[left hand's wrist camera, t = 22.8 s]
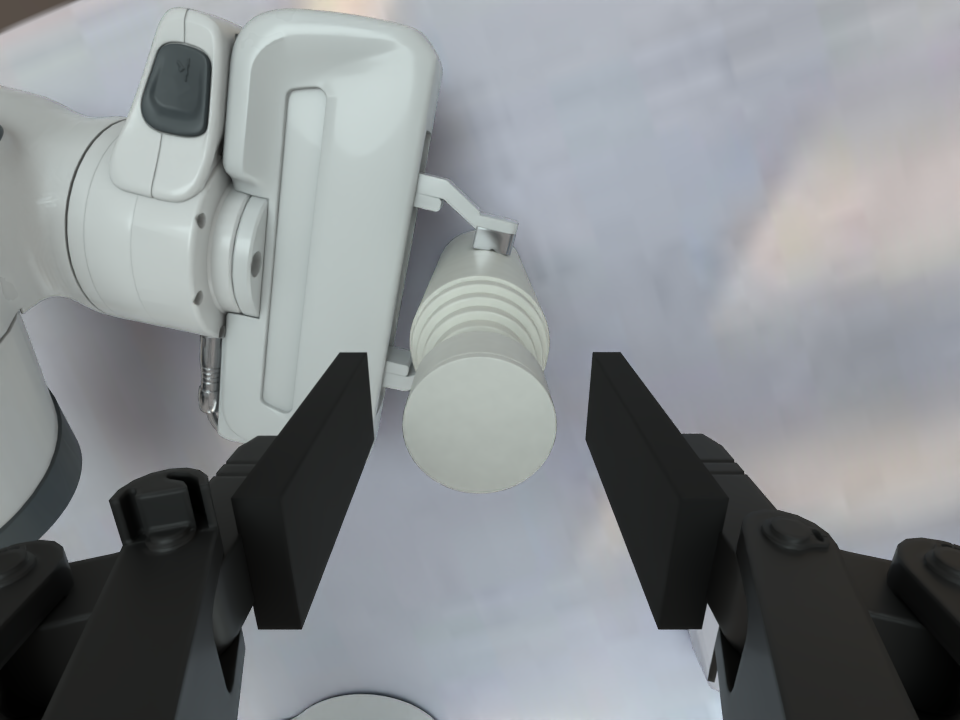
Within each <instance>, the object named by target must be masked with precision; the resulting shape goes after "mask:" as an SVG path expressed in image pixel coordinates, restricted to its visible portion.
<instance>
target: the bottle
mask: <svg viewBox="0 0 960 720" xmlns="http://www.w3.org/2000/svg"><path fill="white" fill-rule="evenodd" d="M475 232H476V230H473V231H469V232H465V233H463V234H461V235H459V236H457V237H456V238H454V239H453V240H452V241H451V242H450V243H448V245H447V246H446V247H445V248H444V250H443V252H442V254H441V256H440V258H439V261H438V263H437V265H436V268H435V270H434V272H433V275H432V277H431V280H430V282H429V284H428V287H427V289H426V291H425V294H424V296H423V298H422V301H421V303H420V305H419V308H418V310H417V313H416V315H415V317H414V320H413V323H412V326H411V331H410V352H411V357H412V362H413V366H414V369H415V371H417V369H418V367H419V365H420V363H421V361H422V360H423V359H424V357H425V356H426V355H427V354H428V353H429V351H430V350H431V349H433V348H434V347H435V346H436V345H438V344H439V343H441V342H442V341H444V340H446V339H448V338H450V337H452V336H455V335H458V334H461V333H466V332H473V331H486V332H493V333H498V334H501V335H504V336H507V337H509V338H511V339H513V340H515V341H517V342H519V343H520V344H522V345H523V346H524V347H525V348H526V349H528V350H529V351H530V352H531V353H532V355H533V356H534V357H535V358H536V360H537V361H538V363H539V364H540V366H541V368H542V370H543V372H544V369H545V366H546V363H547V358H548V353H549V345H550V339H549V330H548V325H547V322H546V319H545V316H544V314H543V312H542V309H541V307H540V305H539V302H538V300H537V298H536V295H535V293H534V291H533V288H532V286H531V283H530V281H529V279H528V276H527V274H526V272H525V269H524V267H523V265H522V262H521V260H520V258H519V255H518V253H517V251H516V250H515V248H514V247H512V251H511V254H510V255H502V254H499V253H496V252H495V251H494V250H493V249H491V250H488V251H487V250H481V249H476V248H473V241H474V236H475Z"/></svg>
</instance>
